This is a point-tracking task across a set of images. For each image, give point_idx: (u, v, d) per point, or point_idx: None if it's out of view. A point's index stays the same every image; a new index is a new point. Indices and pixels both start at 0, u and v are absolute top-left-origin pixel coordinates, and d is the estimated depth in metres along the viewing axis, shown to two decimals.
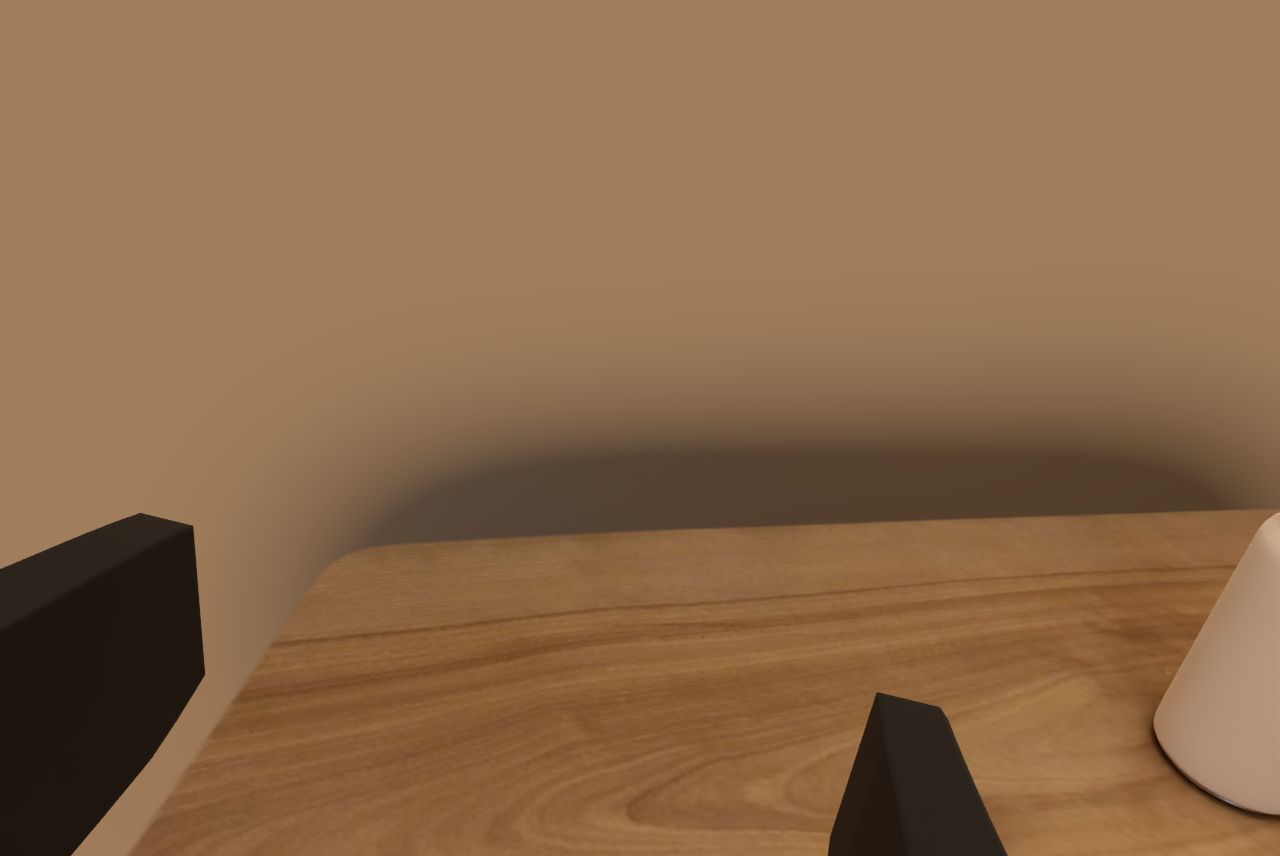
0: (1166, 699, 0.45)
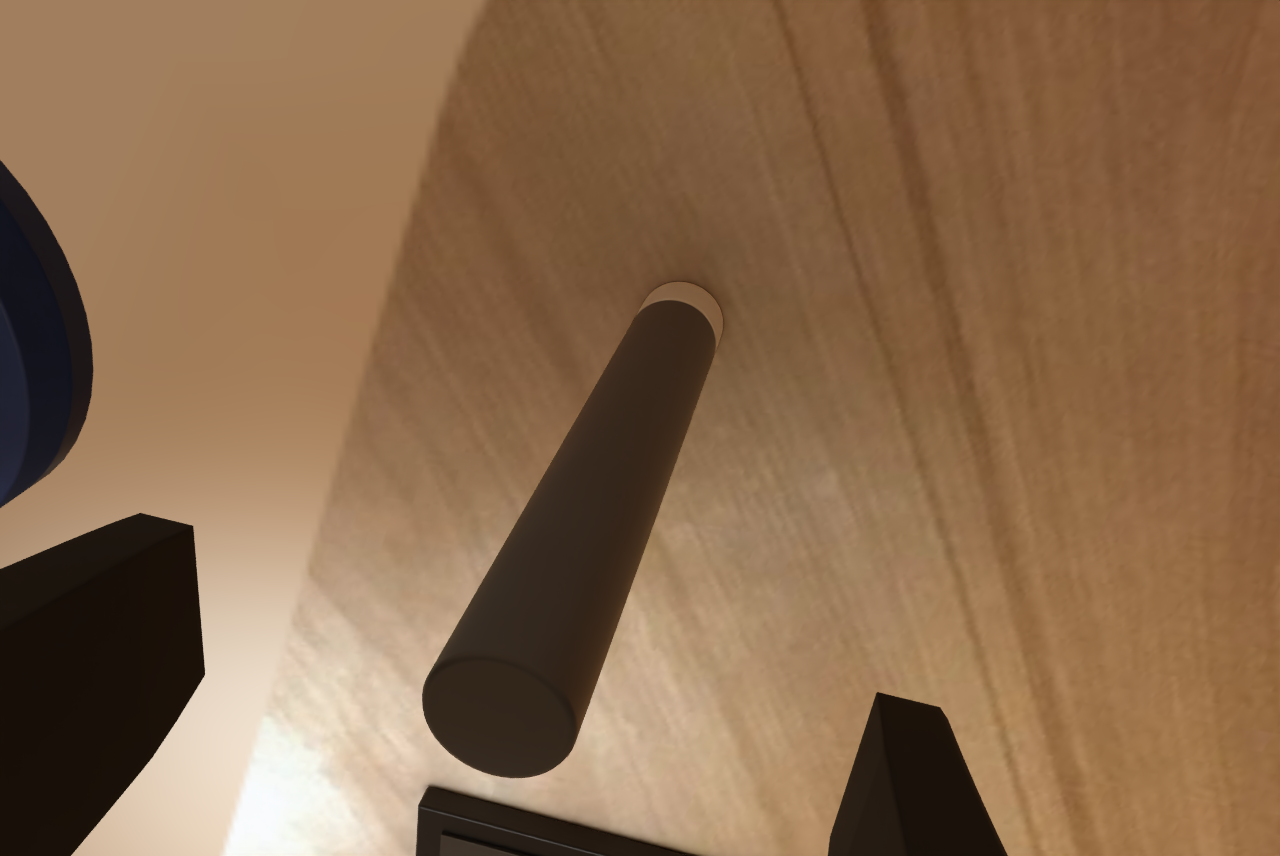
0: None
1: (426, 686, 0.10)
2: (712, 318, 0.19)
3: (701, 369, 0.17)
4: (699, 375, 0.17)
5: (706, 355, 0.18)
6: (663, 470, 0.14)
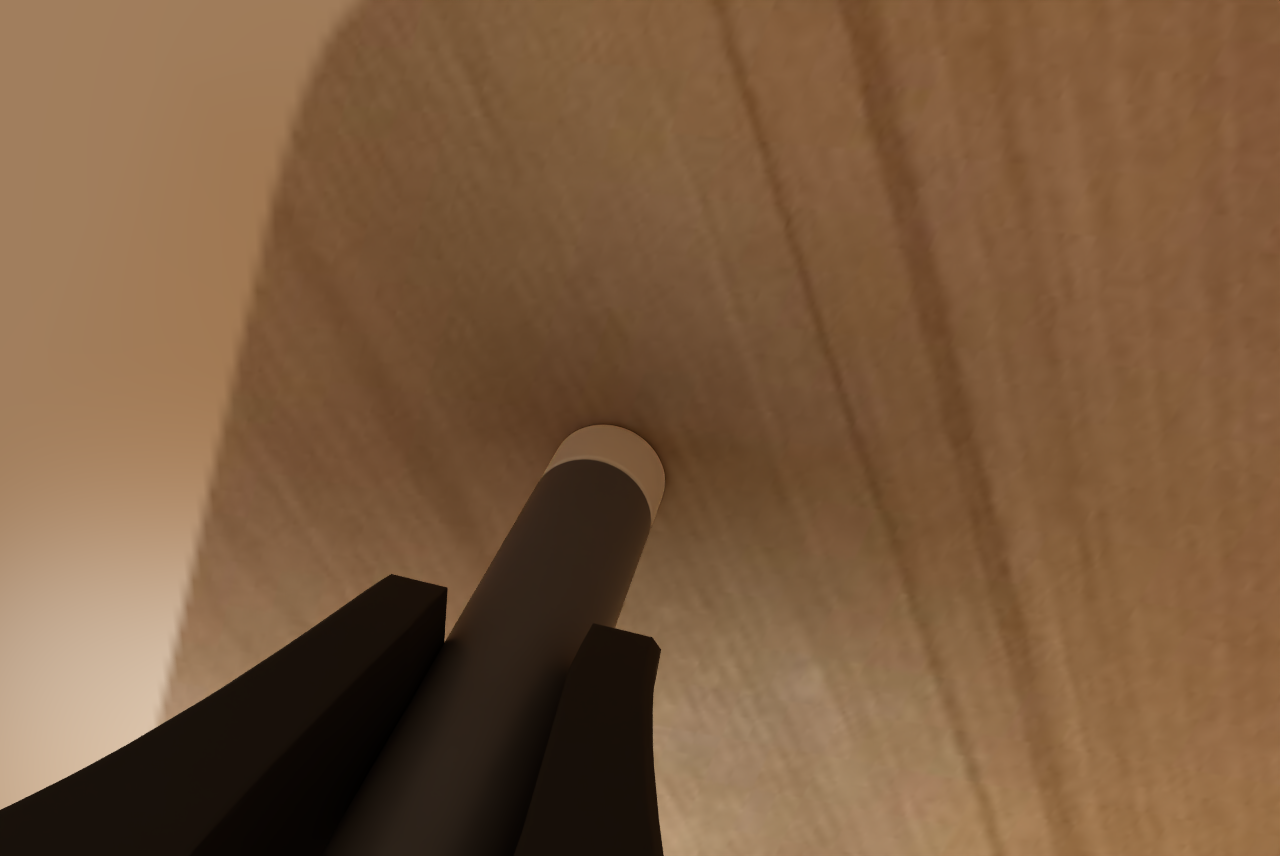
0: None
1: None
2: (648, 480, 0.14)
3: (622, 575, 0.12)
4: (618, 588, 0.12)
5: (632, 547, 0.13)
6: None
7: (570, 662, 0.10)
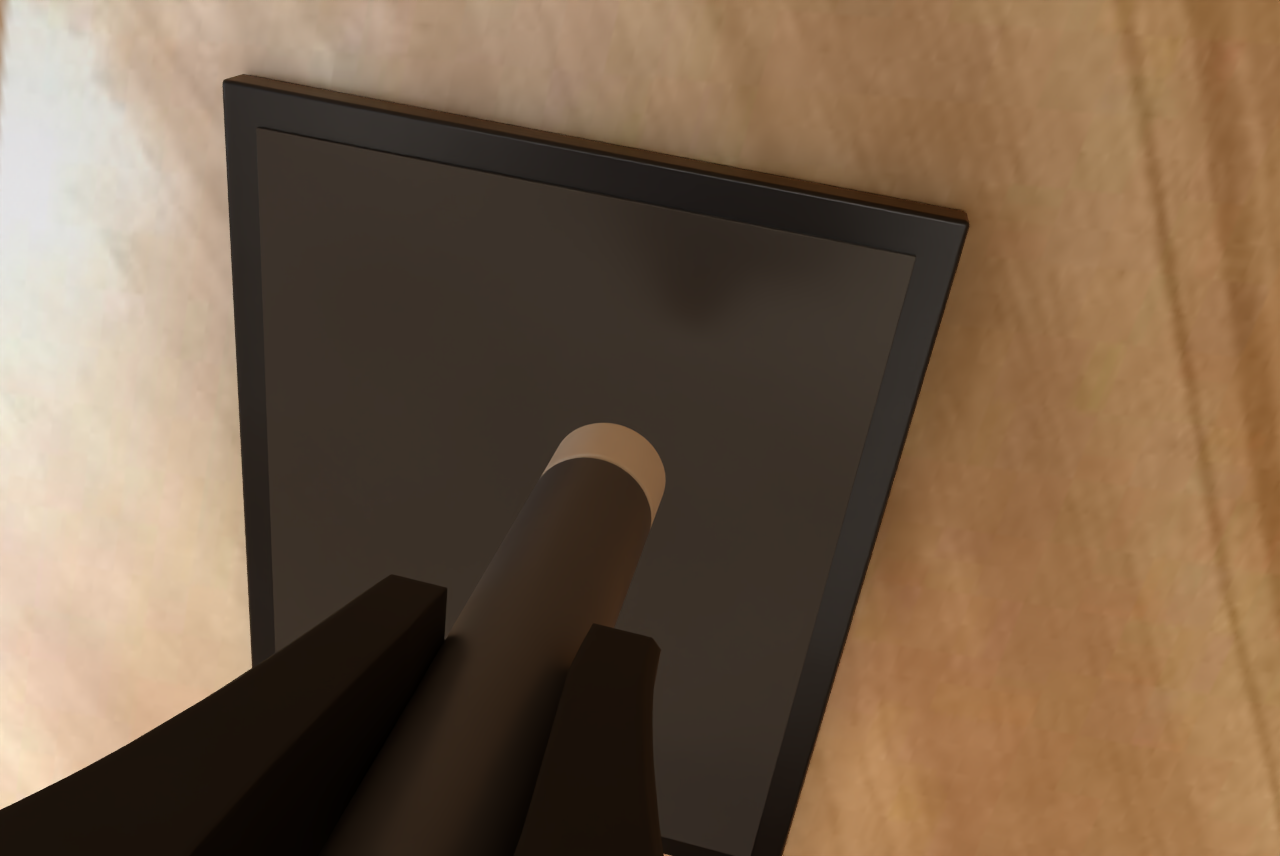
0: None
1: None
2: (647, 479, 0.14)
3: (622, 574, 0.12)
4: (618, 586, 0.12)
5: (633, 545, 0.13)
6: None
7: (570, 660, 0.10)
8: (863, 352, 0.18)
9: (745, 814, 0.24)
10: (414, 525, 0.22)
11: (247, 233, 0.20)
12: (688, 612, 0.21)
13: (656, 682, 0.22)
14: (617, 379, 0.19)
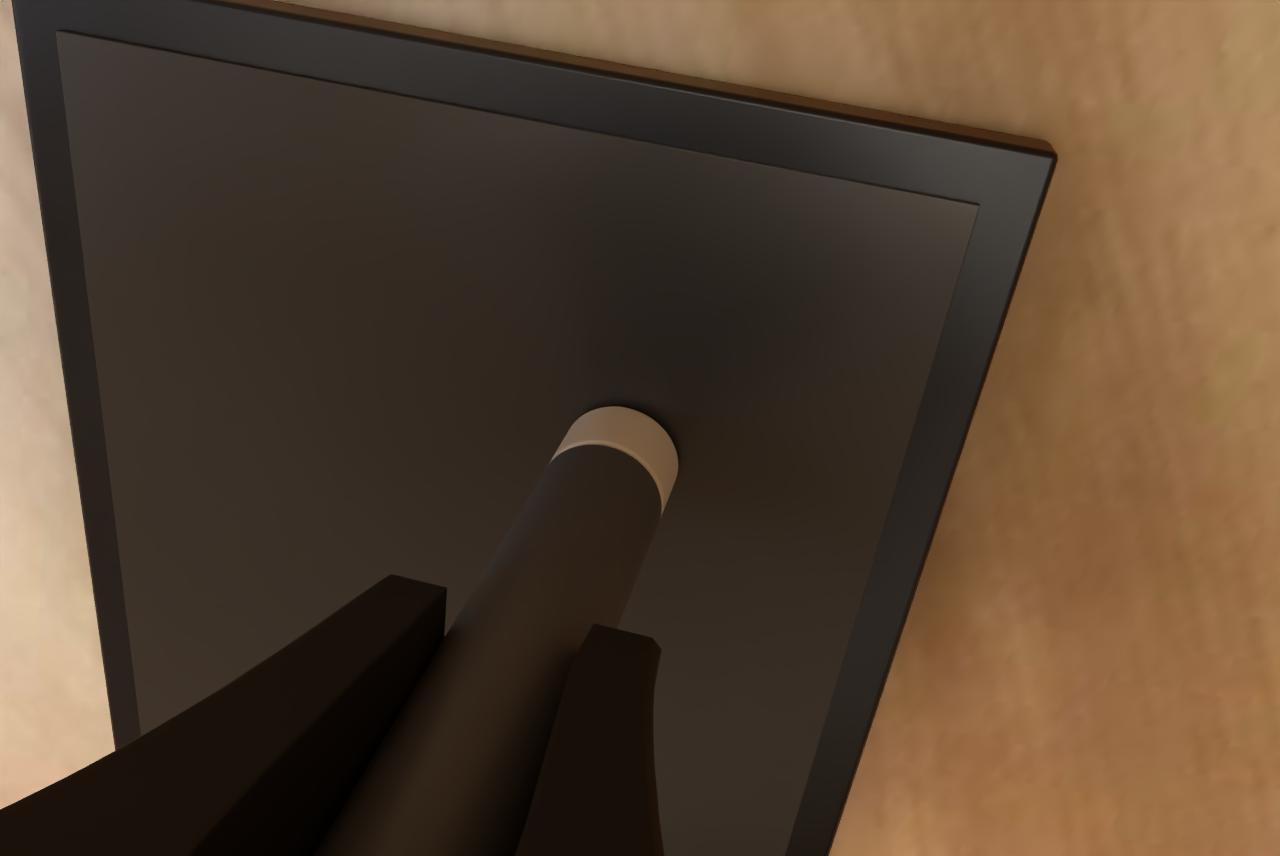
0: None
1: None
2: (658, 466, 0.13)
3: (628, 568, 0.12)
4: (623, 581, 0.12)
5: (640, 538, 0.12)
6: (526, 816, 0.09)
7: (569, 664, 0.10)
8: (901, 343, 0.13)
9: None
10: (303, 571, 0.17)
11: (59, 182, 0.14)
12: (662, 688, 0.16)
13: None
14: (562, 379, 0.14)
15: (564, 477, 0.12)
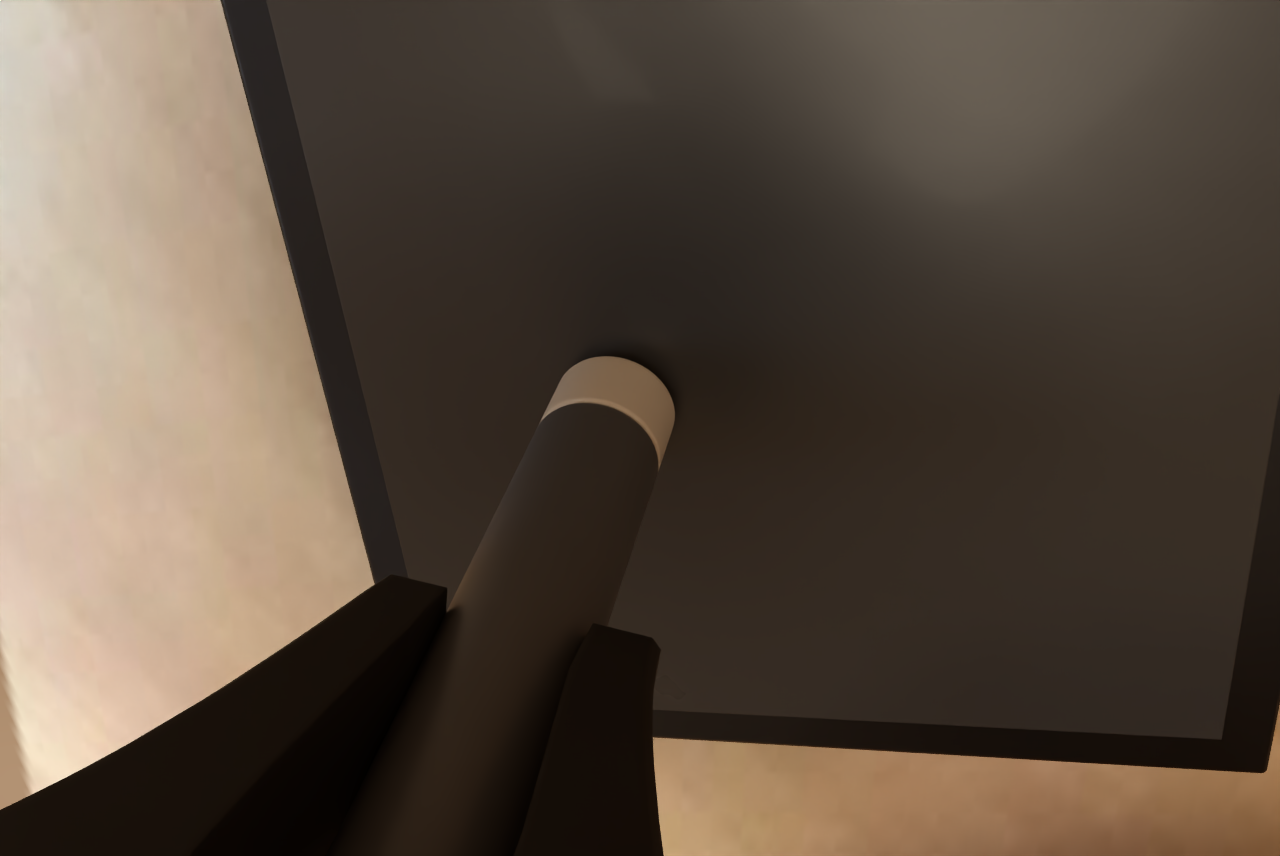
0: None
1: None
2: (653, 419, 0.13)
3: (624, 537, 0.12)
4: (619, 552, 0.11)
5: (636, 501, 0.12)
6: None
7: (564, 653, 0.10)
8: None
9: (1204, 660, 0.14)
10: (567, 280, 0.13)
11: None
12: (1057, 299, 0.12)
13: (1016, 452, 0.13)
14: None
15: (553, 443, 0.12)
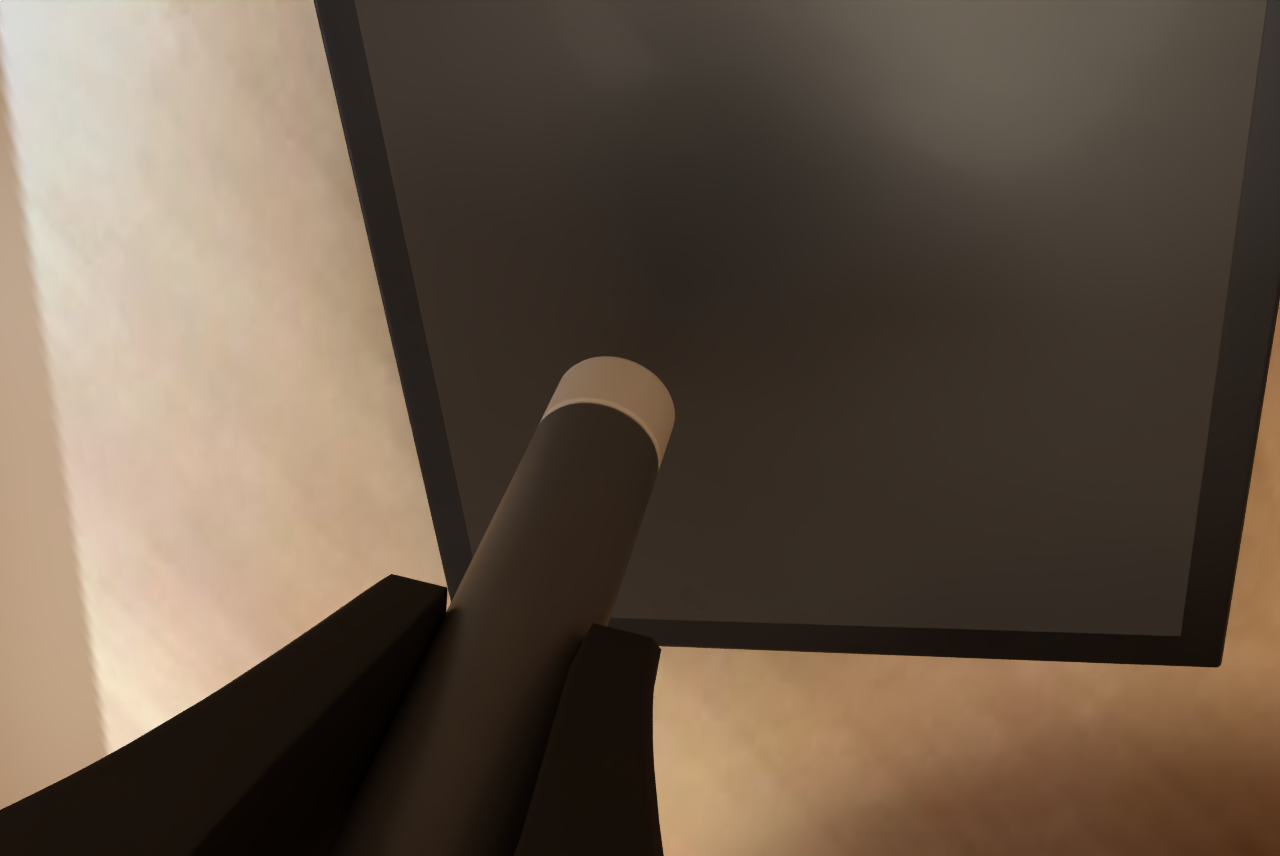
0: None
1: None
2: (653, 419, 0.13)
3: (624, 537, 0.12)
4: (619, 552, 0.11)
5: (636, 501, 0.12)
6: None
7: (564, 653, 0.10)
8: None
9: (1163, 564, 0.16)
10: (608, 230, 0.15)
11: None
12: (1032, 242, 0.14)
13: (999, 378, 0.15)
14: None
15: (553, 443, 0.12)
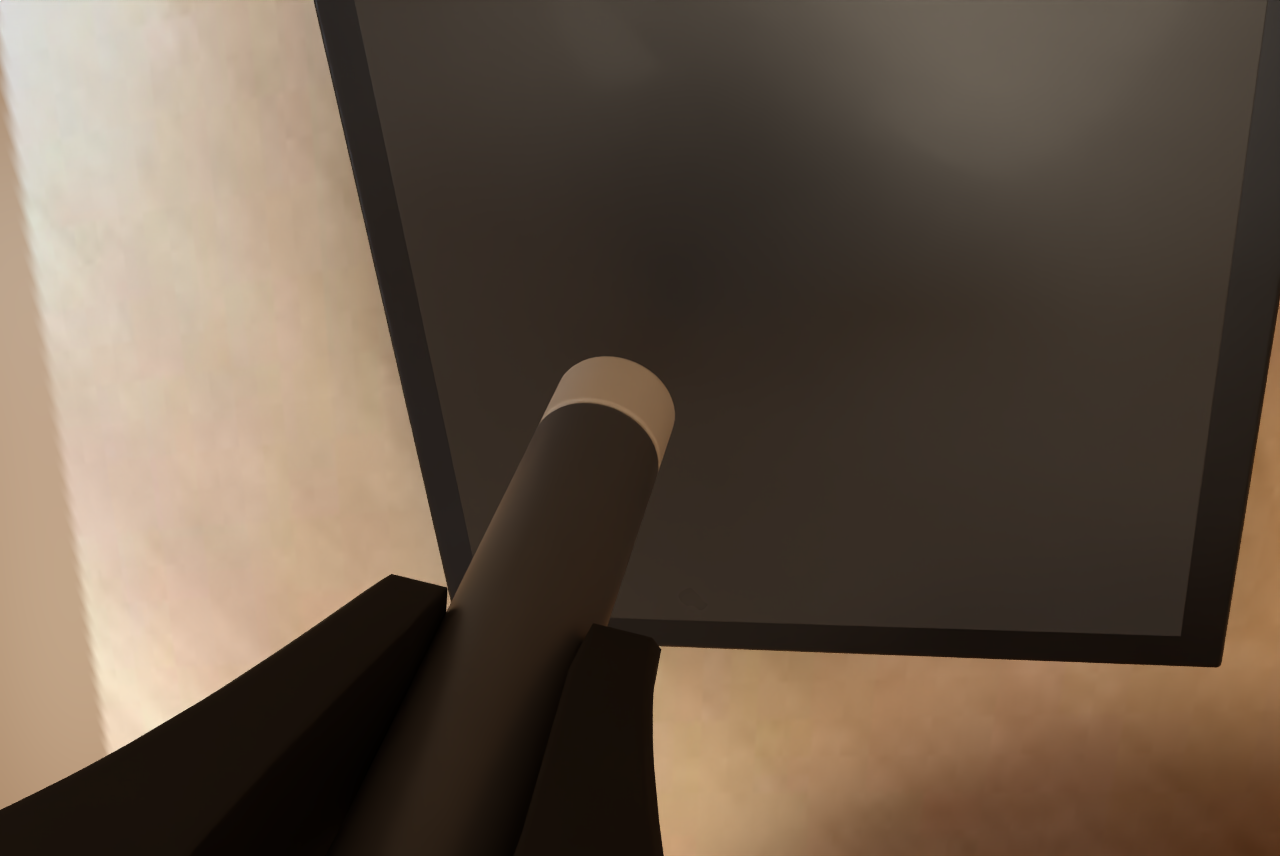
0: None
1: None
2: (653, 419, 0.13)
3: (624, 537, 0.12)
4: (619, 552, 0.11)
5: (636, 501, 0.12)
6: None
7: (564, 653, 0.10)
8: None
9: (1163, 564, 0.16)
10: (608, 230, 0.15)
11: None
12: (1032, 242, 0.14)
13: (999, 378, 0.15)
14: None
15: (553, 443, 0.12)
